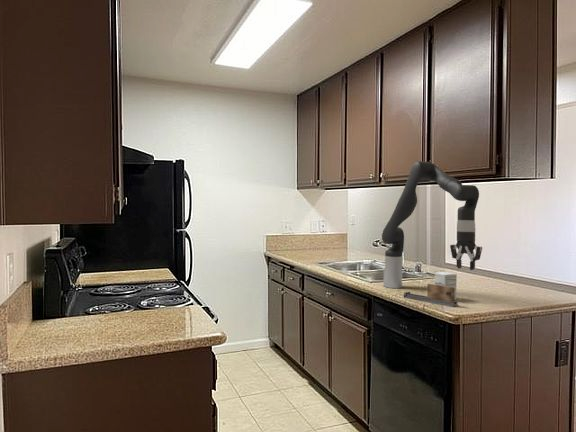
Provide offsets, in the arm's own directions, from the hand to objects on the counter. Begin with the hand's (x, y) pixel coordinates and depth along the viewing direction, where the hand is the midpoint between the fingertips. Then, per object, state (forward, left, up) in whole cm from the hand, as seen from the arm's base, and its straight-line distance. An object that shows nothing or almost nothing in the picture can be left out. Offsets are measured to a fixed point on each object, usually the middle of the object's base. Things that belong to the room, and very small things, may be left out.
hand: (465, 268), depth 188 cm
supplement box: (-16, +11, -18) cm, 26 cm away
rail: (-18, 0, -17) cm, 25 cm away
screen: (-12, 0, -16) cm, 20 cm away
